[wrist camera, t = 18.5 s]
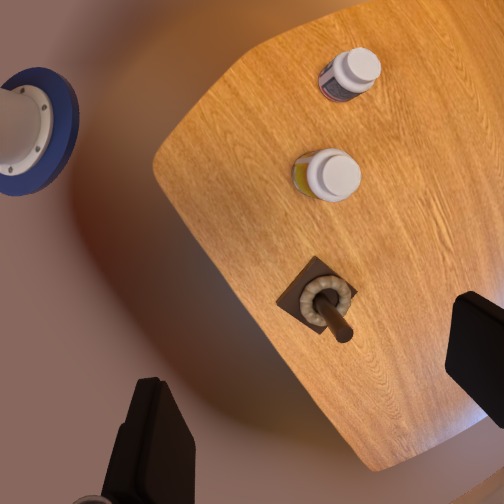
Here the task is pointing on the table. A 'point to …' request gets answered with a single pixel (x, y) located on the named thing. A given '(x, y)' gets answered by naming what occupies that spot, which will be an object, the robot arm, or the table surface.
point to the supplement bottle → (326, 174)
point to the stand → (317, 301)
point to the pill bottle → (349, 74)
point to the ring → (317, 286)
